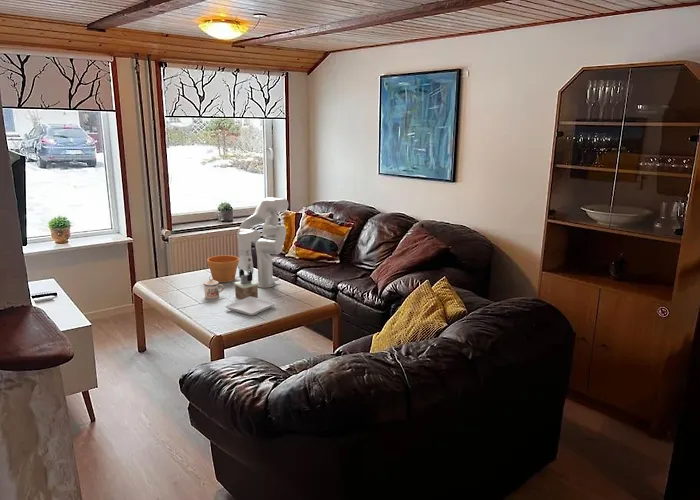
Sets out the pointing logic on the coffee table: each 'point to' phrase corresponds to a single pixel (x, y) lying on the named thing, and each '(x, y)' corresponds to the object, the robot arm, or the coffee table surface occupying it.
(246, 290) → the crate
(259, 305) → the salad plate
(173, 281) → the coffee table surface
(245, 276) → the lid
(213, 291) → the teacup with lid
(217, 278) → the flower pot
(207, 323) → the coffee table surface
